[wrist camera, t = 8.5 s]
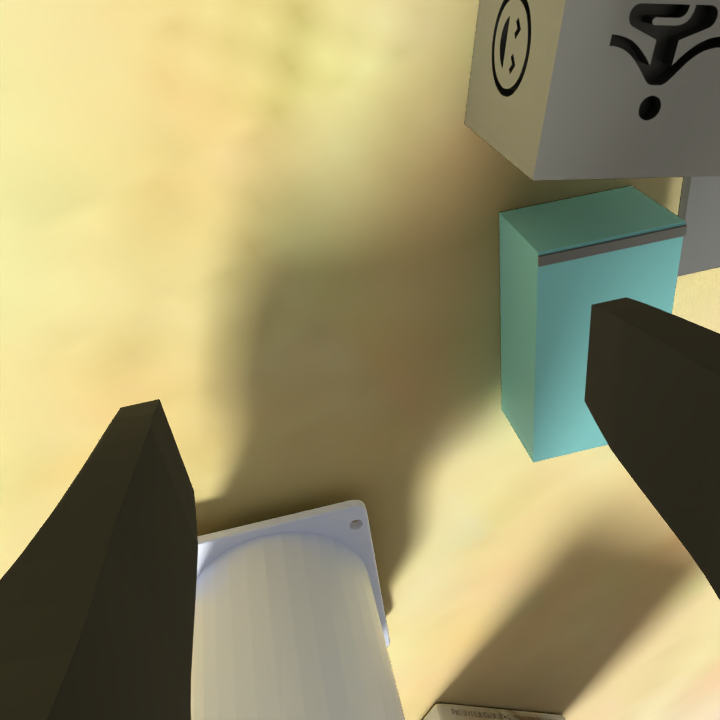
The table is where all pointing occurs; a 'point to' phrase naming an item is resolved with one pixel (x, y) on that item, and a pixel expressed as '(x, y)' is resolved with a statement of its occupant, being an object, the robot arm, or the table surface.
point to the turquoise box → (573, 302)
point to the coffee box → (483, 713)
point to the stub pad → (700, 224)
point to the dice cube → (598, 87)
